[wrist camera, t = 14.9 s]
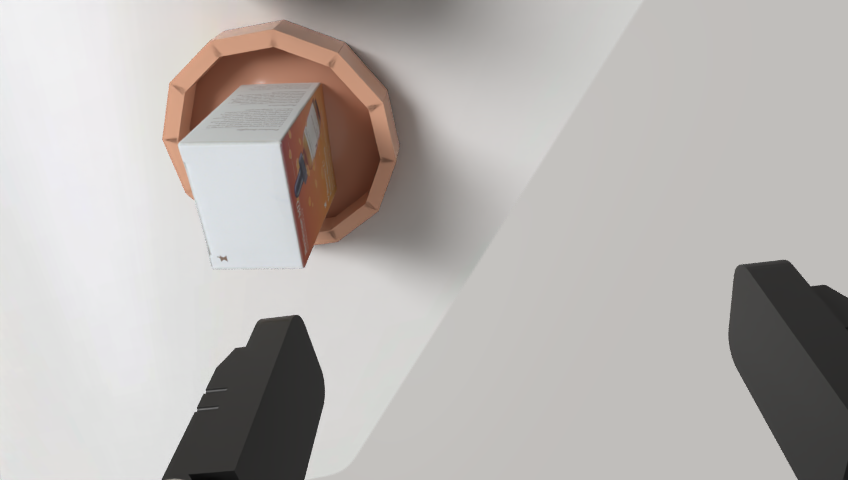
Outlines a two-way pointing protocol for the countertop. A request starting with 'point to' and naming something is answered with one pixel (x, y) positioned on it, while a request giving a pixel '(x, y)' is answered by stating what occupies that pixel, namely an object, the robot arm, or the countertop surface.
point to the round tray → (297, 63)
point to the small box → (262, 175)
